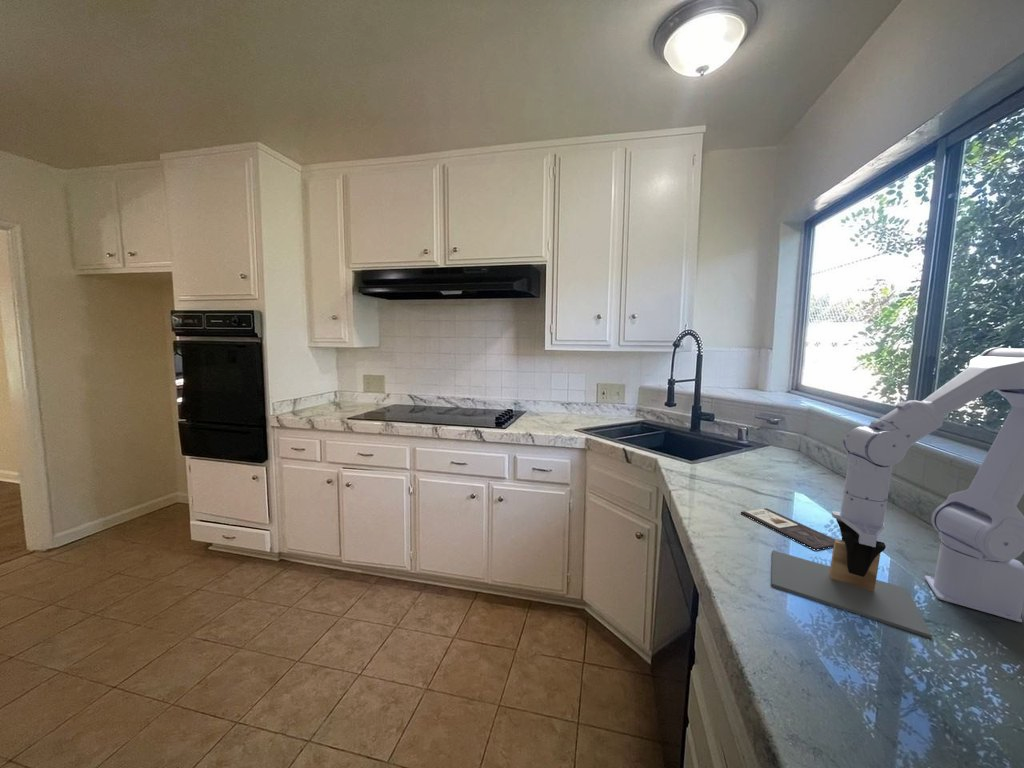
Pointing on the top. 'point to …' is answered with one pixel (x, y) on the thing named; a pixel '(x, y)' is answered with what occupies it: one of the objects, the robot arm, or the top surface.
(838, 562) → the oak tile
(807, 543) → the chocolate bar
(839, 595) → the rubber mat
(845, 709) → the top surface
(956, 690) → the top surface
